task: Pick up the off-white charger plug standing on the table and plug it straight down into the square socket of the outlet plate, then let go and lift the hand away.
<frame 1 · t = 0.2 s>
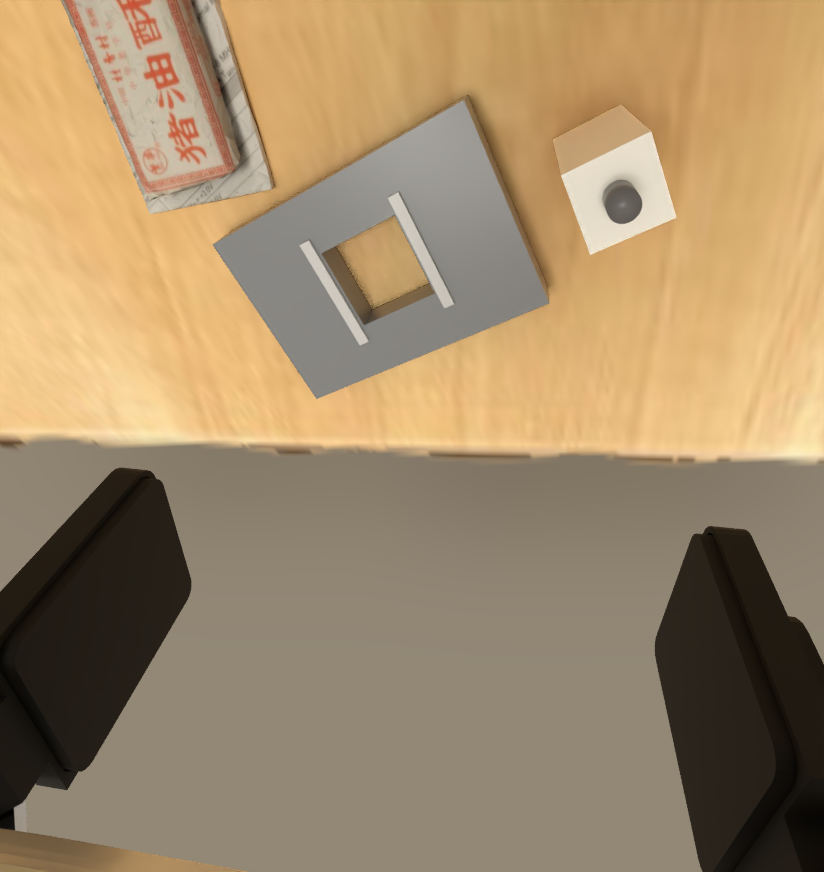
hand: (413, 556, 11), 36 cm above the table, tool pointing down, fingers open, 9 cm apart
charger plug: (597, 155, 39), on the table
outlet plate: (386, 259, 45), on the table
packaged product: (169, 59, 40), on the table
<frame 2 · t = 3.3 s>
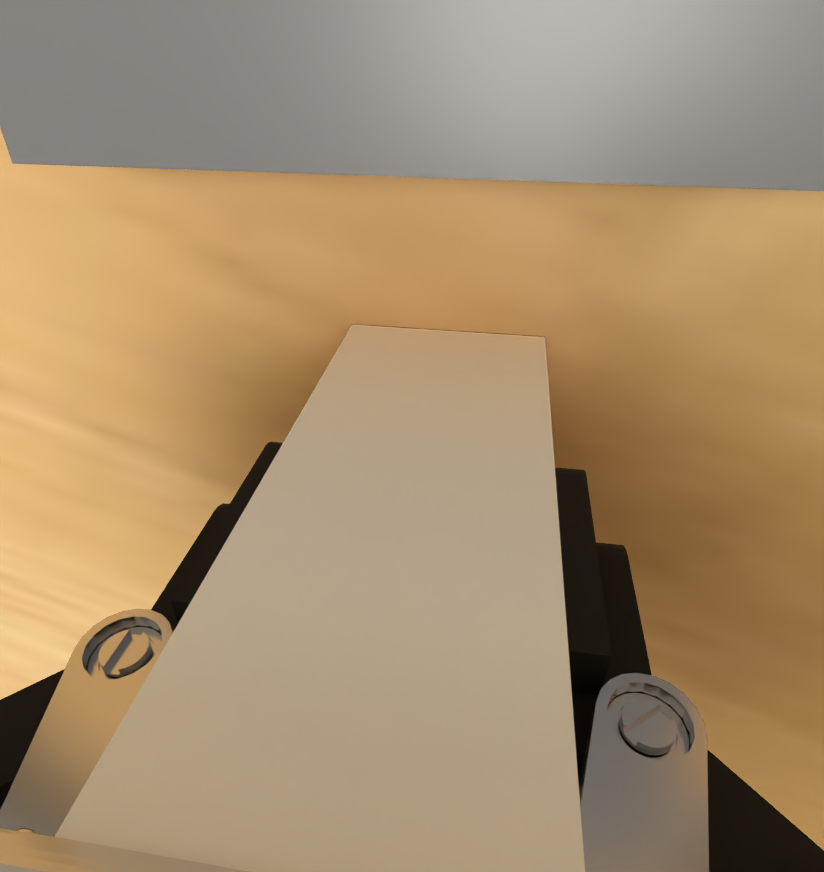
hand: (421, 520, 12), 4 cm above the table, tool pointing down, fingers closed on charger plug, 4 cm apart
charger plug: (443, 413, 15), on the table, touching gripper
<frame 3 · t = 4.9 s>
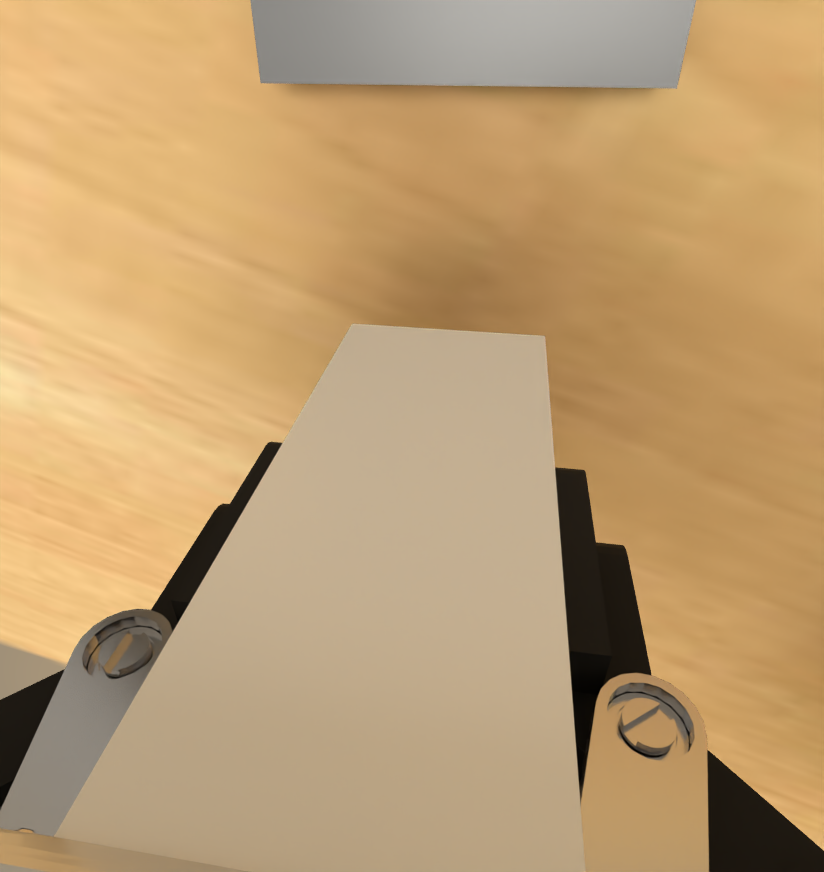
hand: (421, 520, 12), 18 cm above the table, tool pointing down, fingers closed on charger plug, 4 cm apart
charger plug: (443, 412, 15), point 14 cm above the table, touching gripper
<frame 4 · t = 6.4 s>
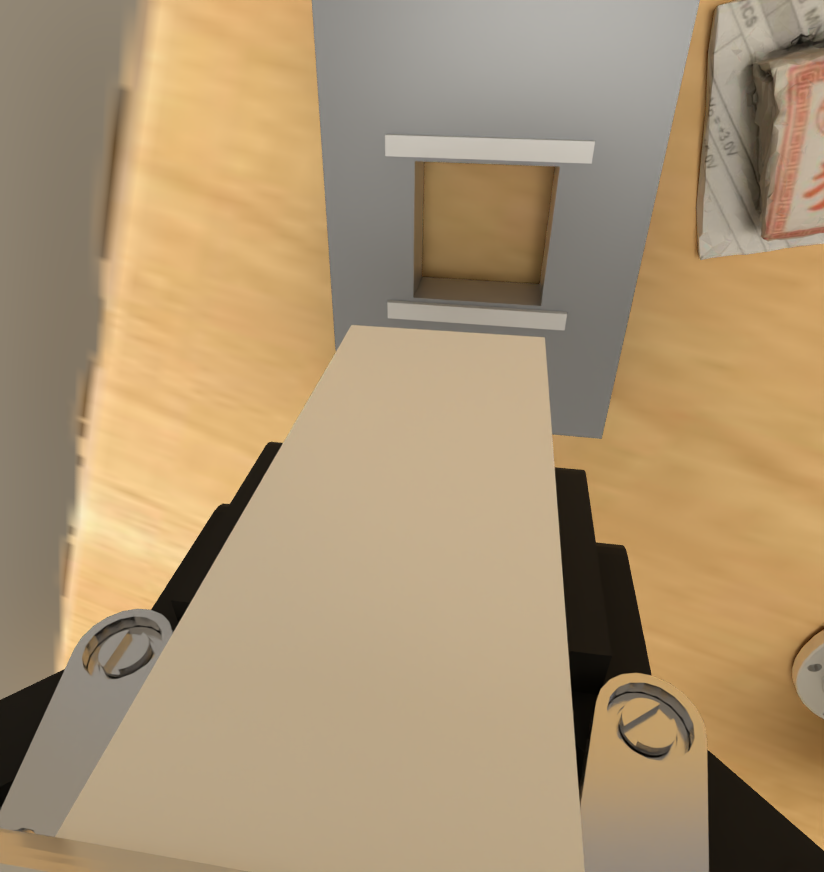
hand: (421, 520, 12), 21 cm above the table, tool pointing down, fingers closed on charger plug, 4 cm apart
charger plug: (443, 413, 15), point 18 cm above the table, touching gripper
outlet plate: (484, 219, 29), on the table
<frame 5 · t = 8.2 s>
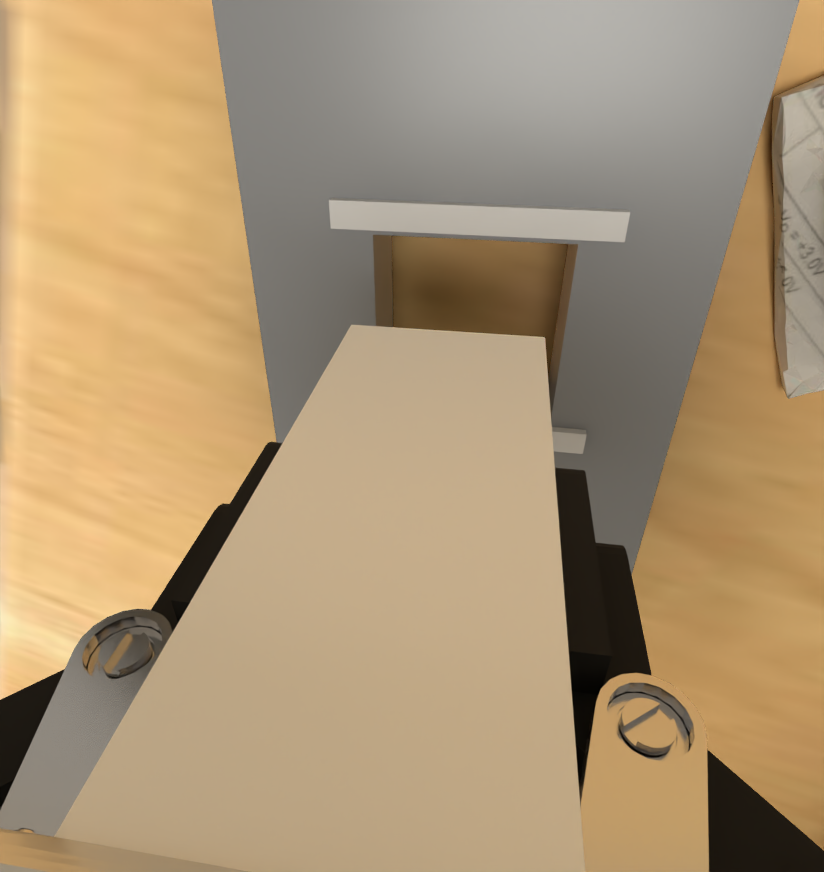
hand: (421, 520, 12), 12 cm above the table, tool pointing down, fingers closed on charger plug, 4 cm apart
charger plug: (443, 413, 15), point 8 cm above the table, touching gripper
outlet plate: (474, 300, 22), on the table
when the fingers open (5 cm above the table, at t = 9.8 s): charger plug drops 1 cm, resting in outlet plate.
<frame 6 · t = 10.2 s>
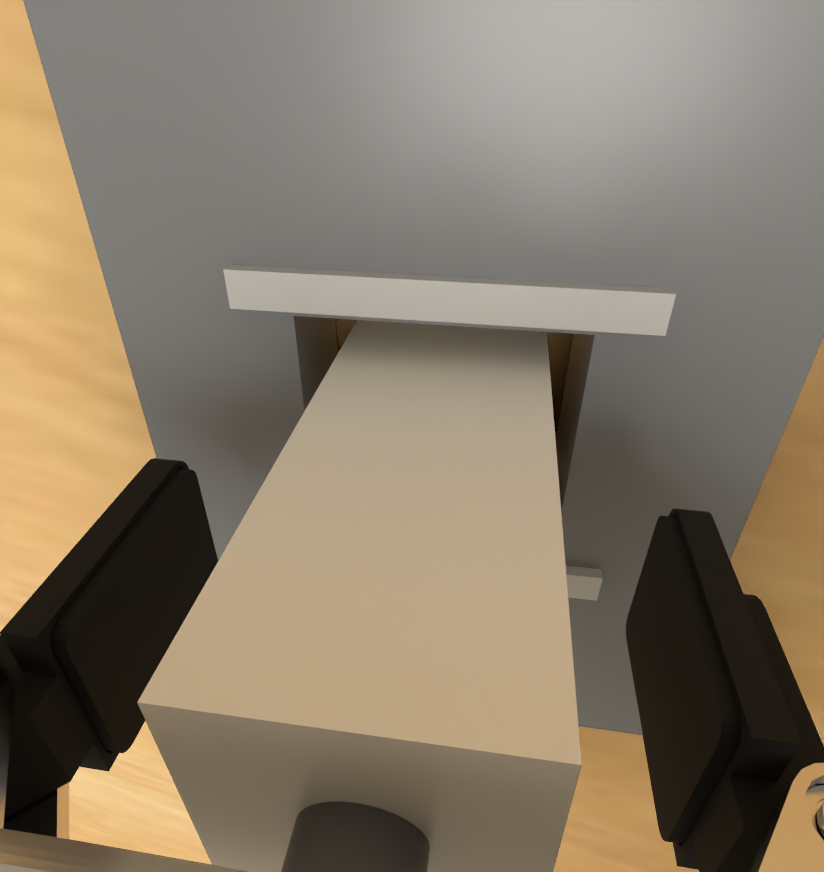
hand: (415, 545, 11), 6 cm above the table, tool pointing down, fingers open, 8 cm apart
charger plug: (452, 384, 16), resting in outlet plate
outlet plate: (448, 384, 16), on the table
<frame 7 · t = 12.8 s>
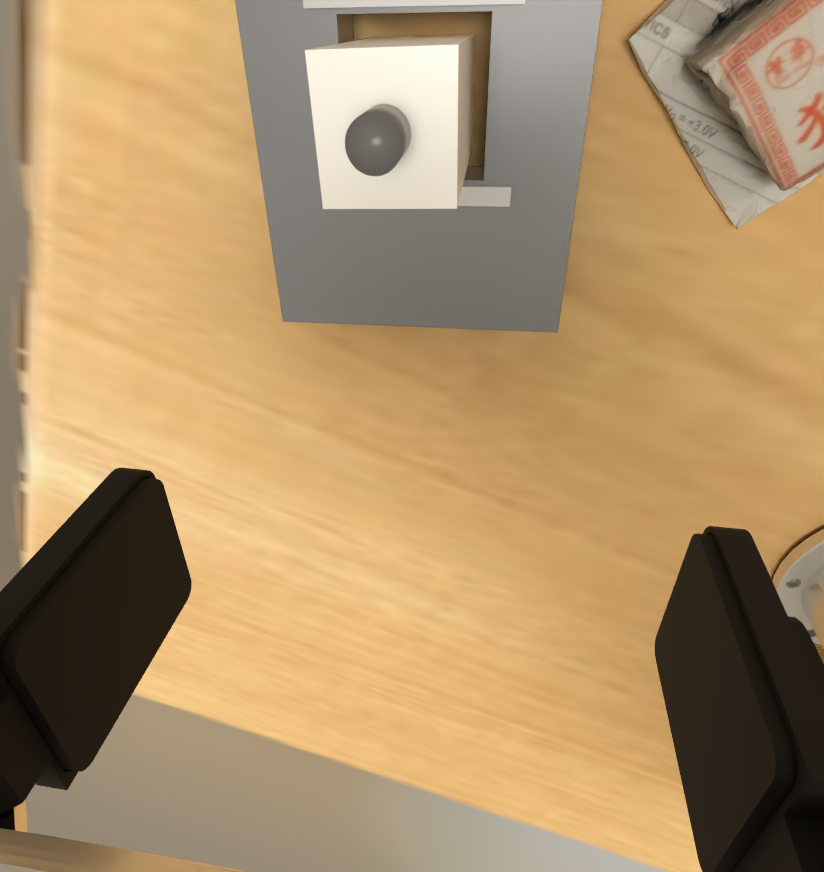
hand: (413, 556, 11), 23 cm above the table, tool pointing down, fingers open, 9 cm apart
charger plug: (424, 94, 27), resting in outlet plate
outlet plate: (422, 94, 27), on the table
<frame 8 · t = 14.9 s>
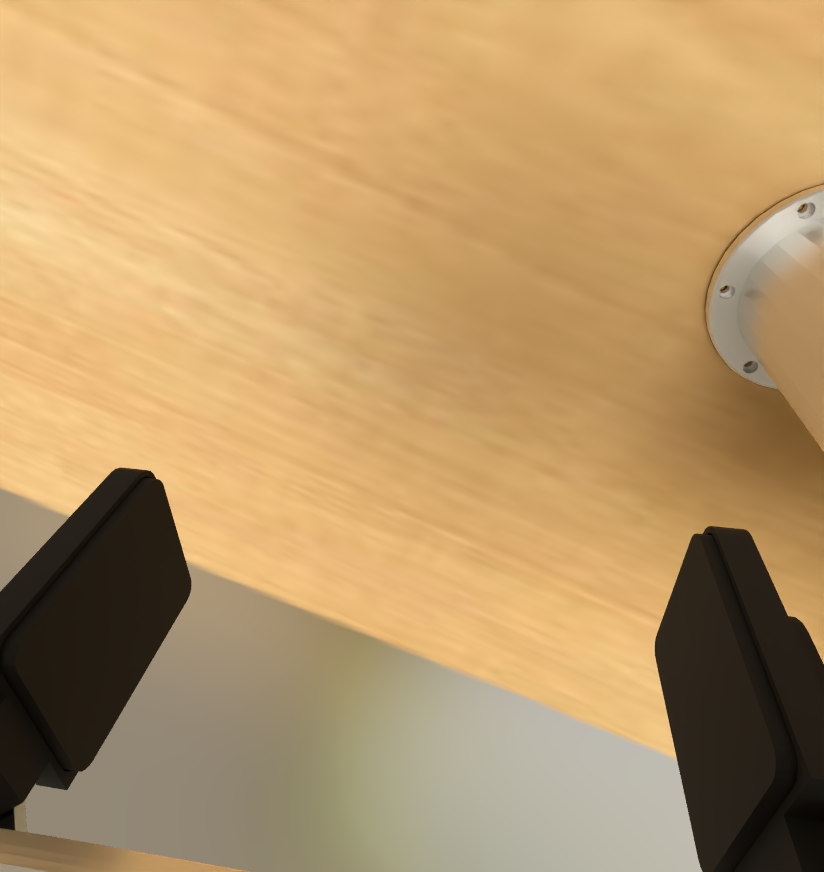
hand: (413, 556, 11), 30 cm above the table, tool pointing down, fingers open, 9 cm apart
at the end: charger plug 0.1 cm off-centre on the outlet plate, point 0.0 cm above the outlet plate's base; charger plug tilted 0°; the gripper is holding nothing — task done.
